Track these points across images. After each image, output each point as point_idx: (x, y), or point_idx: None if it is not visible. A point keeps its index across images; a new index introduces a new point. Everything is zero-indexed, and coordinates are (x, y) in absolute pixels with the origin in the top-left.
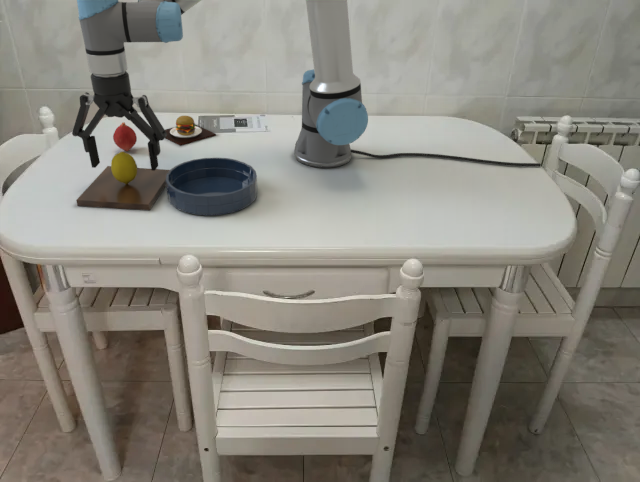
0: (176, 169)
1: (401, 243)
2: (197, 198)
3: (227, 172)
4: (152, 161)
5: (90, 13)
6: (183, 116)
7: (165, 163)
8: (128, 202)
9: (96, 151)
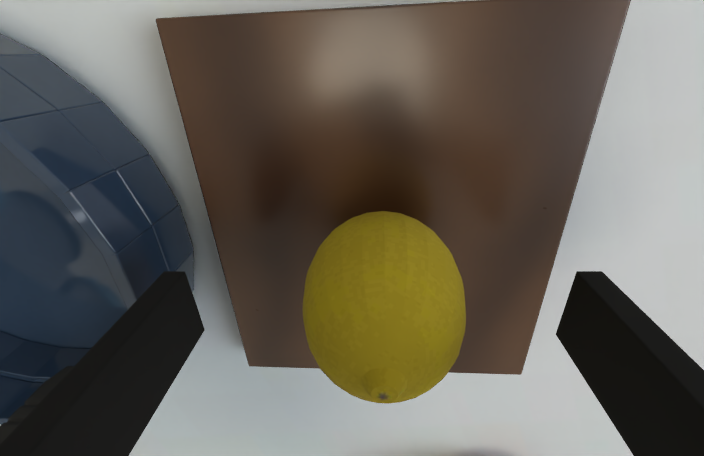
0: None
1: None
2: None
3: (36, 362)
4: (130, 317)
5: None
6: None
7: (323, 413)
8: (282, 24)
9: (615, 402)
